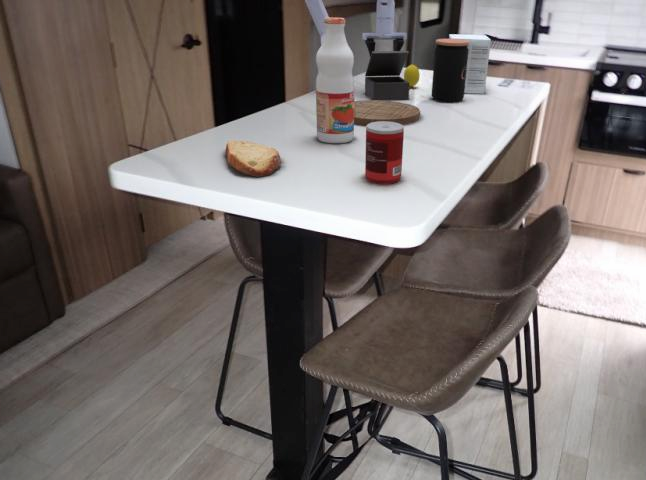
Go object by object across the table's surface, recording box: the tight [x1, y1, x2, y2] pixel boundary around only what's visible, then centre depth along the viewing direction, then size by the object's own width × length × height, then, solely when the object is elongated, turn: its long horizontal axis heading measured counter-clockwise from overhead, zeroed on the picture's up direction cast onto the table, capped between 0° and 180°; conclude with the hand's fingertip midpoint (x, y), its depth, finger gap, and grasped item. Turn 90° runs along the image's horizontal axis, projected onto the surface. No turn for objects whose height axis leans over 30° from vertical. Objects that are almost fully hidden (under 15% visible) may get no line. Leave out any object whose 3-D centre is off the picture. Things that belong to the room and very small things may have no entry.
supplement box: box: [448, 33, 492, 95], centre depth 207 cm, size 13×13×18 cm
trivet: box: [354, 99, 421, 127], centre depth 174 cm, size 25×25×2 cm
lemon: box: [403, 63, 421, 89], centre depth 211 cm, size 6×6×8 cm
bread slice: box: [225, 140, 282, 178], centre depth 132 cm, size 18×18×4 cm
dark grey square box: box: [364, 75, 410, 101], centre depth 197 cm, size 12×12×5 cm
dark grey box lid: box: [364, 50, 410, 77], centre depth 195 cm, size 12×12×4 cm
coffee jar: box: [431, 38, 469, 104], centre depth 192 cm, size 11×11×18 cm
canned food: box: [364, 121, 405, 185], centre depth 123 cm, size 8×8×11 cm
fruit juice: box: [315, 16, 355, 144], centre depth 144 cm, size 9×9×28 cm
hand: (383, 63), depth 197 cm, fingers open, 7 cm apart
